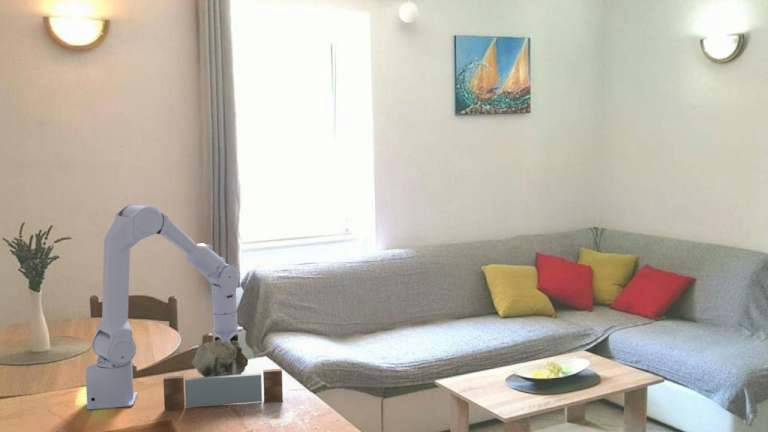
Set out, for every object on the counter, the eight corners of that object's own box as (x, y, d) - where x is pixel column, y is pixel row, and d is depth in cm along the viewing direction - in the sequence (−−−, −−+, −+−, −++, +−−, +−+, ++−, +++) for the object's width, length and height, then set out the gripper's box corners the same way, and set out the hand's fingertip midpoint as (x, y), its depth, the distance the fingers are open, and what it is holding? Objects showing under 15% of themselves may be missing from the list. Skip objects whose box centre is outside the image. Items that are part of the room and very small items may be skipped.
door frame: (164, 410, 153) (163, 379, 152) (165, 408, 154) (164, 376, 154) (282, 401, 158) (281, 370, 157) (282, 399, 159) (281, 368, 158)
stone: (258, 340, 169) (245, 330, 178) (198, 344, 163) (187, 334, 171) (255, 385, 170) (243, 373, 179) (195, 391, 163) (185, 378, 172)
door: (185, 407, 154) (184, 380, 153) (186, 405, 155) (185, 378, 154) (261, 401, 157) (261, 374, 156) (261, 399, 158) (261, 373, 157)
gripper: (241, 318, 169) (245, 373, 171) (241, 303, 183) (244, 354, 185) (211, 320, 168) (214, 376, 169) (212, 305, 182) (216, 357, 183)
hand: (228, 365), depth 177 cm, fingers closed, pressing on stone
